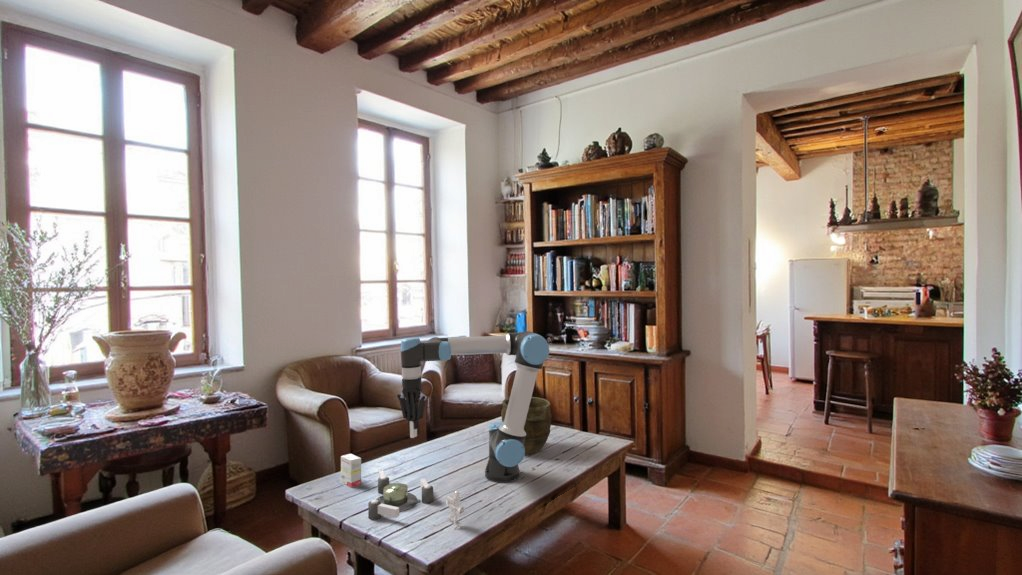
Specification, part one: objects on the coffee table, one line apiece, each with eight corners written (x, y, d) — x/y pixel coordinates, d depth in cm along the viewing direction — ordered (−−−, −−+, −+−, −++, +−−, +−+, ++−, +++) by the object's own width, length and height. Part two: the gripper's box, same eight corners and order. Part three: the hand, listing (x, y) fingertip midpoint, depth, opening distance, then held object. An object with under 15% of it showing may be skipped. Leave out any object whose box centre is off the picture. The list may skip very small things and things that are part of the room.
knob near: (434, 502, 183) (434, 487, 183) (422, 504, 181) (422, 489, 181) (428, 489, 194) (428, 475, 194) (417, 491, 193) (417, 477, 193)
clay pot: (560, 447, 245) (560, 399, 245) (535, 463, 224) (535, 410, 223) (517, 439, 259) (517, 392, 258) (491, 453, 237) (491, 402, 237)
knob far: (389, 492, 191) (389, 478, 191) (378, 494, 190) (378, 480, 190) (386, 480, 203) (386, 467, 203) (375, 482, 201) (375, 469, 201)
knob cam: (365, 518, 171) (365, 502, 171) (373, 512, 175) (373, 497, 175) (393, 525, 166) (393, 509, 166) (401, 519, 170) (401, 503, 170)
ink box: (362, 485, 200) (361, 457, 199) (351, 489, 196) (351, 460, 196) (351, 480, 205) (350, 452, 205) (340, 483, 202) (340, 455, 201)
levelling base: (436, 501, 186) (436, 483, 186) (400, 529, 164) (400, 509, 164) (382, 489, 196) (382, 472, 196) (341, 514, 175) (341, 496, 175)
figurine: (449, 519, 171) (449, 486, 171) (469, 526, 166) (469, 492, 166) (440, 525, 167) (440, 491, 167) (461, 532, 162) (461, 497, 162)
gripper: (430, 376, 190) (432, 435, 191) (403, 374, 195) (405, 432, 195) (420, 380, 183) (422, 441, 184) (392, 378, 188) (394, 438, 188)
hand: (413, 436), depth 189 cm, fingers closed
